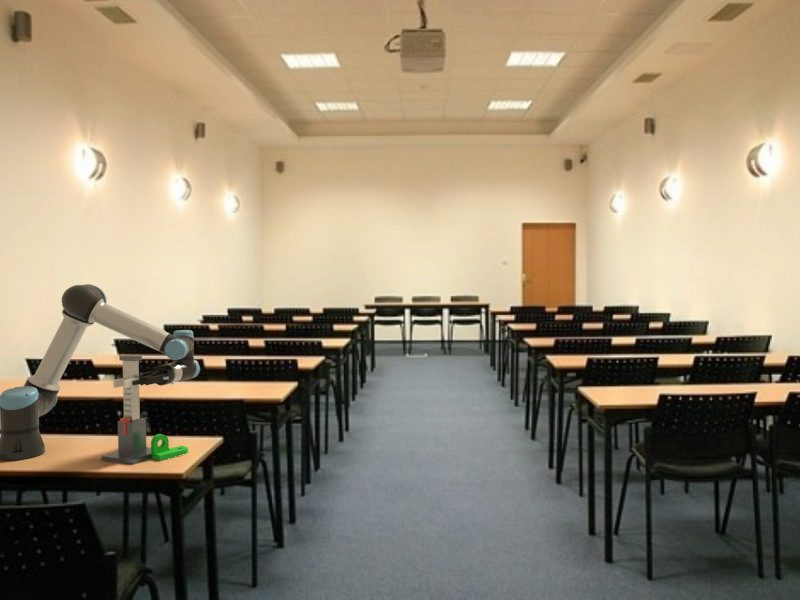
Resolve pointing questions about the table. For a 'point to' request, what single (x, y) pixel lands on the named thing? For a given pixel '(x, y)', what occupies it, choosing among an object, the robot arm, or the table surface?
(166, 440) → the mechanical part
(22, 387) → the robot arm
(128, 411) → the column
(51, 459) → the table surface
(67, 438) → the table surface
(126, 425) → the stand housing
